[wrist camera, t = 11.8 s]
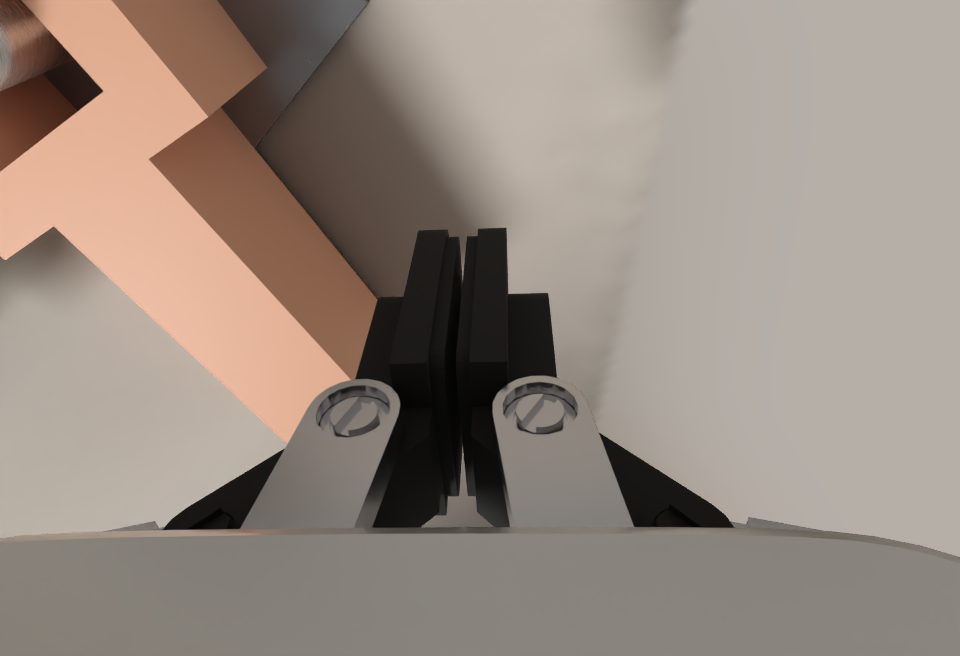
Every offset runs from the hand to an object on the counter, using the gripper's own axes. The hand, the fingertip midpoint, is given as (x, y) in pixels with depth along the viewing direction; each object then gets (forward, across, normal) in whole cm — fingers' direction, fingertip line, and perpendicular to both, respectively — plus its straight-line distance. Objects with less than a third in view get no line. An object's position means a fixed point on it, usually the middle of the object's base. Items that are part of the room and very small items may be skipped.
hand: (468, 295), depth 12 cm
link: (+6, +8, -1) cm, 10 cm away
